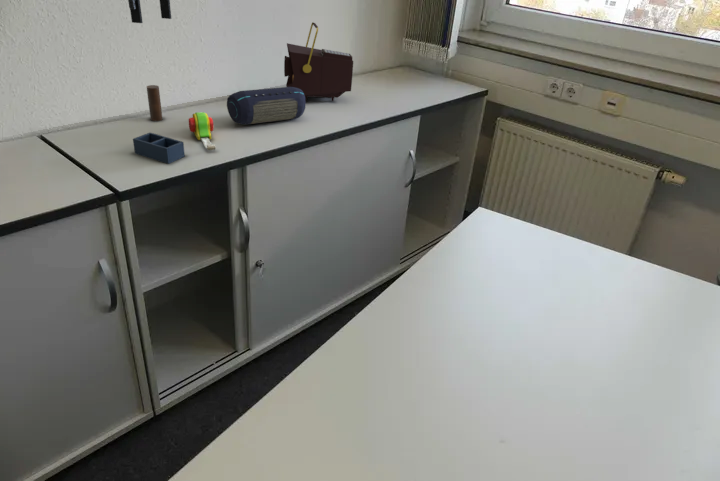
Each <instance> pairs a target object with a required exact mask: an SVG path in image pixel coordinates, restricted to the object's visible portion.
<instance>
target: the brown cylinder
mask: <svg viewBox="0 0 720 481" xmlns="http://www.w3.org/2000/svg"><path fill="white" fill-rule="evenodd" d="M146 93H147V95H146V96H147V101H148V109H149V116H150V117H149V118H150V121H153V122H161V121H163V112H162V103H161V94H160V86H159V85H156V84H149V85H147V86H146Z"/></svg>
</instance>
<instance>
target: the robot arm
mask: <svg viewBox="0 0 720 481" xmlns="http://www.w3.org/2000/svg"><path fill="white" fill-rule="evenodd" d="M127 1H128V7H129V11H130V19H131V23H133V24H134V23H135V24H143V22H144V21H143V16H142V8H141V0H127ZM159 8H160V15H161V19H164V20H165V19H166V20H171V19H172V10H171V0H159Z"/></svg>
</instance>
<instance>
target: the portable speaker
mask: <svg viewBox="0 0 720 481" xmlns="http://www.w3.org/2000/svg"><path fill="white" fill-rule="evenodd" d="M306 102H307V101H305V95H304V93H303V91H302V90H301V89H299V88H295V87H286V86H285V87H272V88H271V87H270V88H261V89H247V90H239V91H237V92H234V93H231V94H230V95H229V96H228V97H227V99H226V108H227V112H228V115H229V117H230V118H231V120H232V121H233V122H234V123H235V124H238V125H254V124H262V123H270V122H271V123H272V122H278V121H279V122H280V121H288V120H295V119H299V118H300V117H301V116H303V114H304V113H305V110H306V106H307V105H306Z"/></svg>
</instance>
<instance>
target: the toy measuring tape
mask: <svg viewBox="0 0 720 481" xmlns="http://www.w3.org/2000/svg"><path fill="white" fill-rule="evenodd" d="M214 127H215V126H214V120H213V118H212V116H209V115H208V113H207V112H204V111H203V112H201V111H199V112H195V113H193V114H192V116H191V117H189V118H188V129H189V132H190V133H193V134H194V136H195V138H196V139H197V141H201V142H202V144H203V146H204V148H205V149H206V150H207V151H215V150H216V148H217V146H216V144H213V143H212V142H211V141H210V140H212V133H211V132H213V131H214Z"/></svg>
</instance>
